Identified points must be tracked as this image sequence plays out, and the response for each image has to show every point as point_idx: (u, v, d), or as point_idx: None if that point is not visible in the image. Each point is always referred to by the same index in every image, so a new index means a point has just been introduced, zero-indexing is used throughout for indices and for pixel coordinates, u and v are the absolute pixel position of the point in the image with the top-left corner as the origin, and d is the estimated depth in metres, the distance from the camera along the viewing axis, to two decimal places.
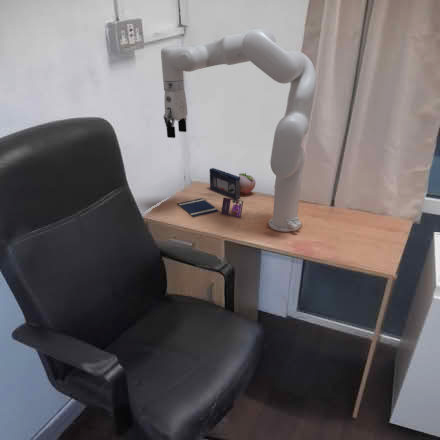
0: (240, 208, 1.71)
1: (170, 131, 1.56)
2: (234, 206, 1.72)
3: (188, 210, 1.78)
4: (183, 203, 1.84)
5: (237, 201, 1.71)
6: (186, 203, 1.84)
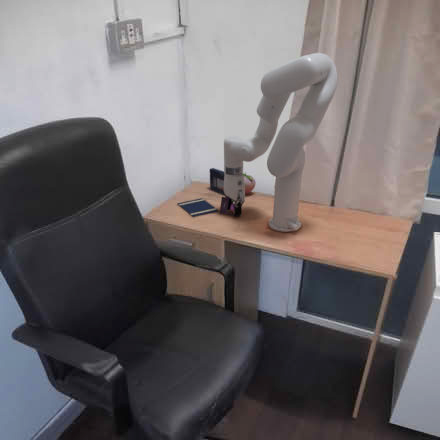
0: None
1: (239, 210, 1.70)
2: (233, 205, 1.73)
3: (188, 210, 1.78)
4: (183, 203, 1.84)
5: None
6: (186, 203, 1.84)
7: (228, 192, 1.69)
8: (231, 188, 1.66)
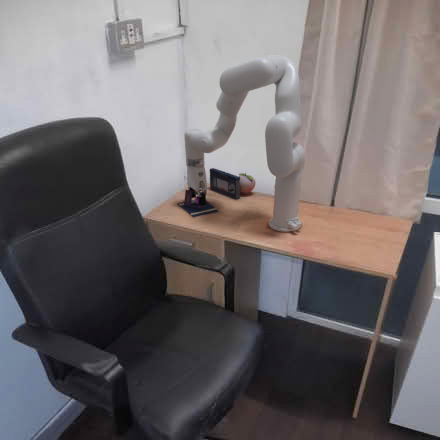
0: None
1: (203, 200, 1.75)
2: (196, 198, 1.79)
3: (188, 210, 1.78)
4: (183, 203, 1.84)
5: None
6: None
7: (191, 183, 1.75)
8: (193, 179, 1.72)
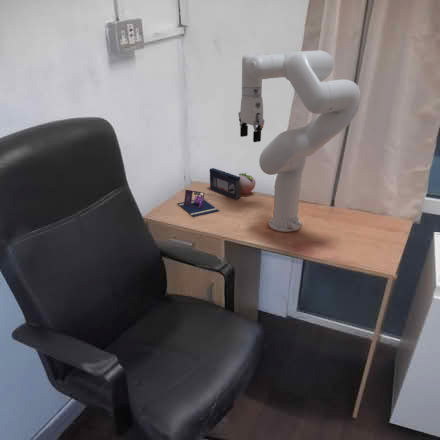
0: (201, 199, 1.78)
1: (259, 135, 1.61)
2: (196, 198, 1.79)
3: (188, 210, 1.78)
4: (183, 203, 1.84)
5: (198, 193, 1.78)
6: None
7: (245, 117, 1.61)
8: (249, 111, 1.58)
